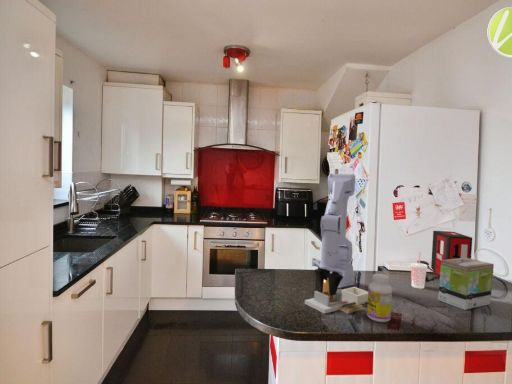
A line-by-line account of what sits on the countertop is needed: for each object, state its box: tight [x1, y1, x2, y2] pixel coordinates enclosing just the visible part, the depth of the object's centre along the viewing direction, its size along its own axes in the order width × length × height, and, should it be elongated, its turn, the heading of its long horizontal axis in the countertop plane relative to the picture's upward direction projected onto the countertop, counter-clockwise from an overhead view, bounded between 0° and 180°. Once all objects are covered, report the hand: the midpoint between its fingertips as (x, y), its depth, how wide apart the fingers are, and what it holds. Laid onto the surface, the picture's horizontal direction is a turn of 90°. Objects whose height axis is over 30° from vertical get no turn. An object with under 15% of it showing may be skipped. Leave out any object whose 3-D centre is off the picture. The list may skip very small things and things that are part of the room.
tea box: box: [437, 258, 495, 311], centre depth 112 cm, size 15×10×15 cm, turn 117°
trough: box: [339, 302, 364, 315], centre depth 102 cm, size 7×3×2 cm, turn 123°
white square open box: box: [341, 286, 368, 306], centre depth 110 cm, size 7×7×3 cm
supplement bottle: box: [366, 273, 393, 323], centre depth 96 cm, size 7×7×13 cm
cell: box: [322, 278, 333, 299], centre depth 104 cm, size 3×3×6 cm
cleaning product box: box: [430, 230, 473, 279], centre depth 142 cm, size 16×9×20 cm, turn 172°
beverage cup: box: [410, 251, 428, 289], centre depth 128 cm, size 6×6×14 cm
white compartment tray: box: [304, 290, 350, 314], centre depth 105 cm, size 12×9×4 cm
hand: (328, 292), depth 105 cm, fingers closed on cell, 3 cm apart
